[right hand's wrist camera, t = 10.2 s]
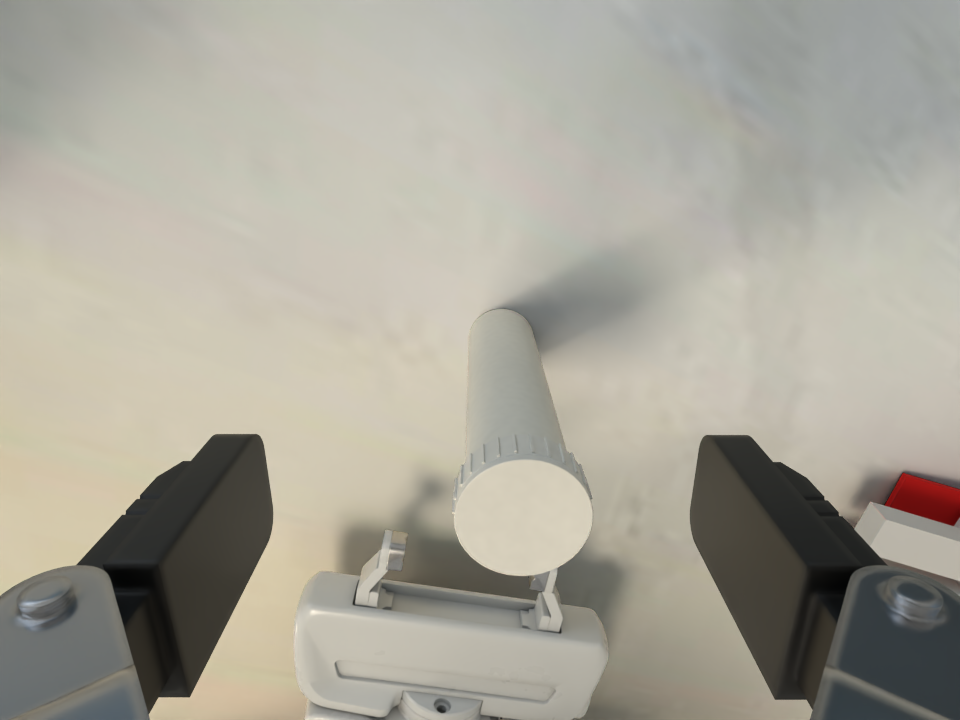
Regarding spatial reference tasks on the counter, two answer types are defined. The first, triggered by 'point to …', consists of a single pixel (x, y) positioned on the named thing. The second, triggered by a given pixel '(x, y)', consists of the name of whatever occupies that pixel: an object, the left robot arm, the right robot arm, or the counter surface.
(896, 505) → the toy
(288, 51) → the counter surface
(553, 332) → the counter surface
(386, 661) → the left robot arm
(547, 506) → the lid
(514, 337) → the slender white bottle
